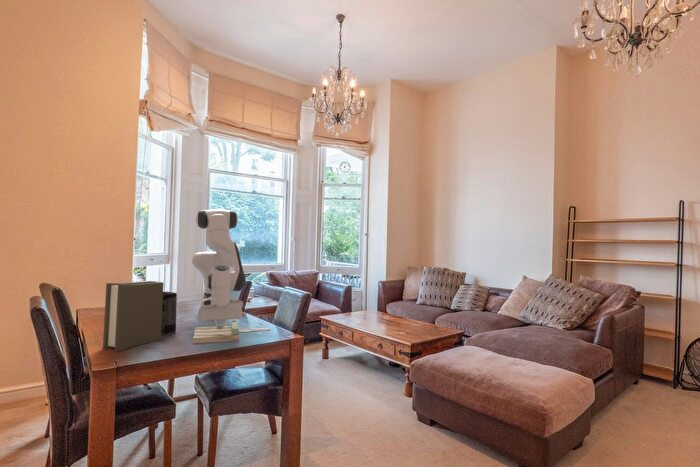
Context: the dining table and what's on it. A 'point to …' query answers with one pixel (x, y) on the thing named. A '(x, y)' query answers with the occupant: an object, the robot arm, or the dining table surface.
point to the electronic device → (168, 313)
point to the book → (132, 314)
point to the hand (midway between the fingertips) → (219, 329)
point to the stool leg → (234, 327)
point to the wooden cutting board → (219, 334)
